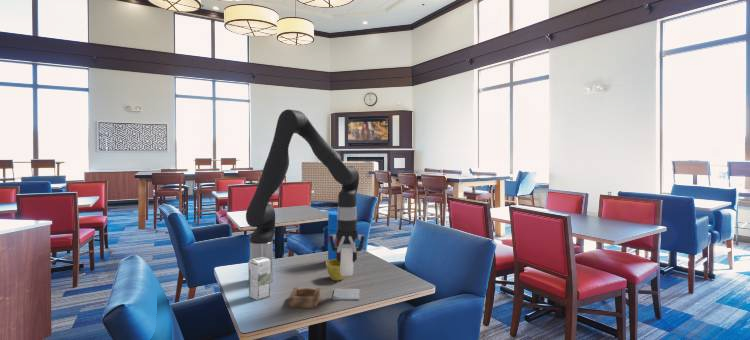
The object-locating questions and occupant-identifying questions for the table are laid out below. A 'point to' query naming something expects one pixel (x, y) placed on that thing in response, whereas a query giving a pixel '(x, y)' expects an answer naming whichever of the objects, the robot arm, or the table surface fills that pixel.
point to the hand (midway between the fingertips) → (346, 261)
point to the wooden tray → (304, 298)
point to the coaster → (346, 294)
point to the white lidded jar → (346, 260)
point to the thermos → (332, 230)
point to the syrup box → (259, 278)
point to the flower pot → (334, 269)
